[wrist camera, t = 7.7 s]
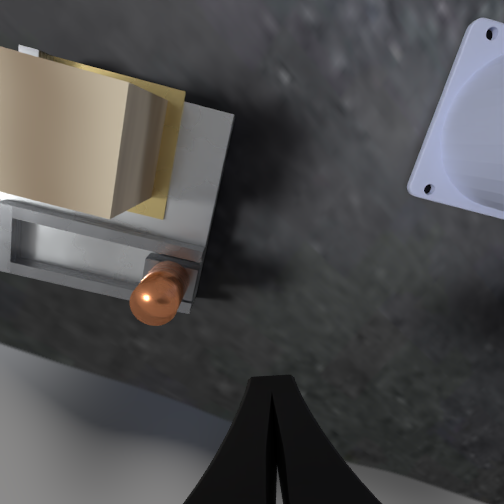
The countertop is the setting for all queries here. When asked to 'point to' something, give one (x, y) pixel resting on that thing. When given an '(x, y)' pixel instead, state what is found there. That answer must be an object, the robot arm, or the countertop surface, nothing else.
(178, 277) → the lever
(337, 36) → the countertop surface
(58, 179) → the beech block
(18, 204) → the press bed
